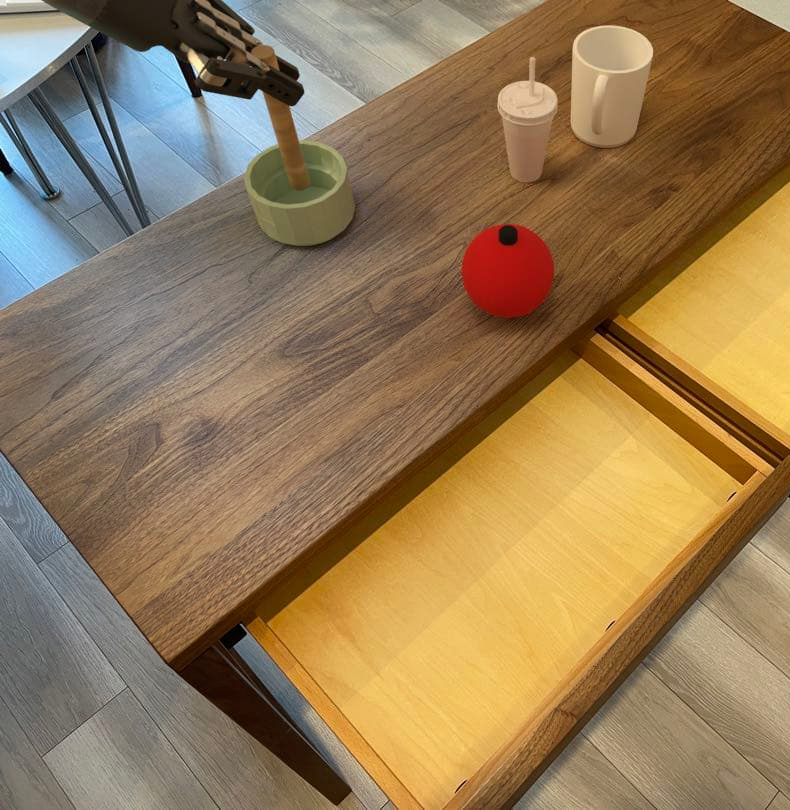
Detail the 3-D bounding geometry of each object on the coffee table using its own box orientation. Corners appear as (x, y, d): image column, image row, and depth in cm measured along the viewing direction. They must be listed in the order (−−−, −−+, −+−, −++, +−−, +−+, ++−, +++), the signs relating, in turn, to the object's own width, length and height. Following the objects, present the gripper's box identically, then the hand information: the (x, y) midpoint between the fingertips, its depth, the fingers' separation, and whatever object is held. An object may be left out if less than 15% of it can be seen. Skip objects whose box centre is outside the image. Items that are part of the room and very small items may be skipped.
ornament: (566, 287, 81) (573, 215, 72) (527, 349, 76) (530, 280, 68) (489, 257, 83) (487, 183, 74) (447, 316, 78) (440, 244, 70)
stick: (311, 188, 81) (275, 56, 68) (292, 192, 80) (252, 59, 68) (308, 176, 82) (272, 43, 69) (289, 179, 81) (249, 46, 69)
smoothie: (565, 171, 90) (573, 61, 78) (526, 198, 88) (530, 89, 76) (524, 145, 92) (527, 34, 81) (486, 171, 90) (483, 60, 78)
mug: (576, 97, 98) (583, 19, 89) (646, 112, 97) (660, 34, 88) (553, 153, 92) (558, 74, 83) (627, 169, 91) (640, 91, 82)
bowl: (267, 260, 81) (252, 217, 76) (253, 194, 86) (237, 150, 81) (364, 239, 83) (355, 196, 78) (345, 176, 89) (335, 132, 83)
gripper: (126, -17, 54) (334, 104, 67) (115, -110, 61) (306, 15, 74) (80, 65, 58) (287, 165, 71) (75, -32, 65) (264, 75, 78)
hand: (296, 88), depth 72 cm, fingers closed on stick, 2 cm apart
